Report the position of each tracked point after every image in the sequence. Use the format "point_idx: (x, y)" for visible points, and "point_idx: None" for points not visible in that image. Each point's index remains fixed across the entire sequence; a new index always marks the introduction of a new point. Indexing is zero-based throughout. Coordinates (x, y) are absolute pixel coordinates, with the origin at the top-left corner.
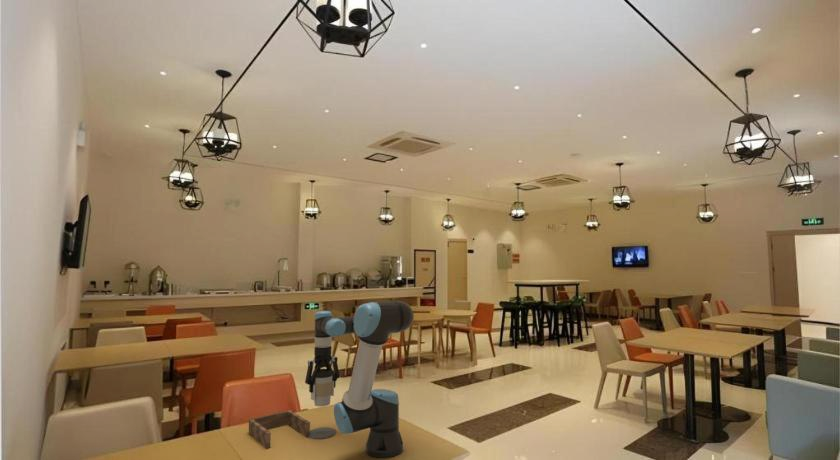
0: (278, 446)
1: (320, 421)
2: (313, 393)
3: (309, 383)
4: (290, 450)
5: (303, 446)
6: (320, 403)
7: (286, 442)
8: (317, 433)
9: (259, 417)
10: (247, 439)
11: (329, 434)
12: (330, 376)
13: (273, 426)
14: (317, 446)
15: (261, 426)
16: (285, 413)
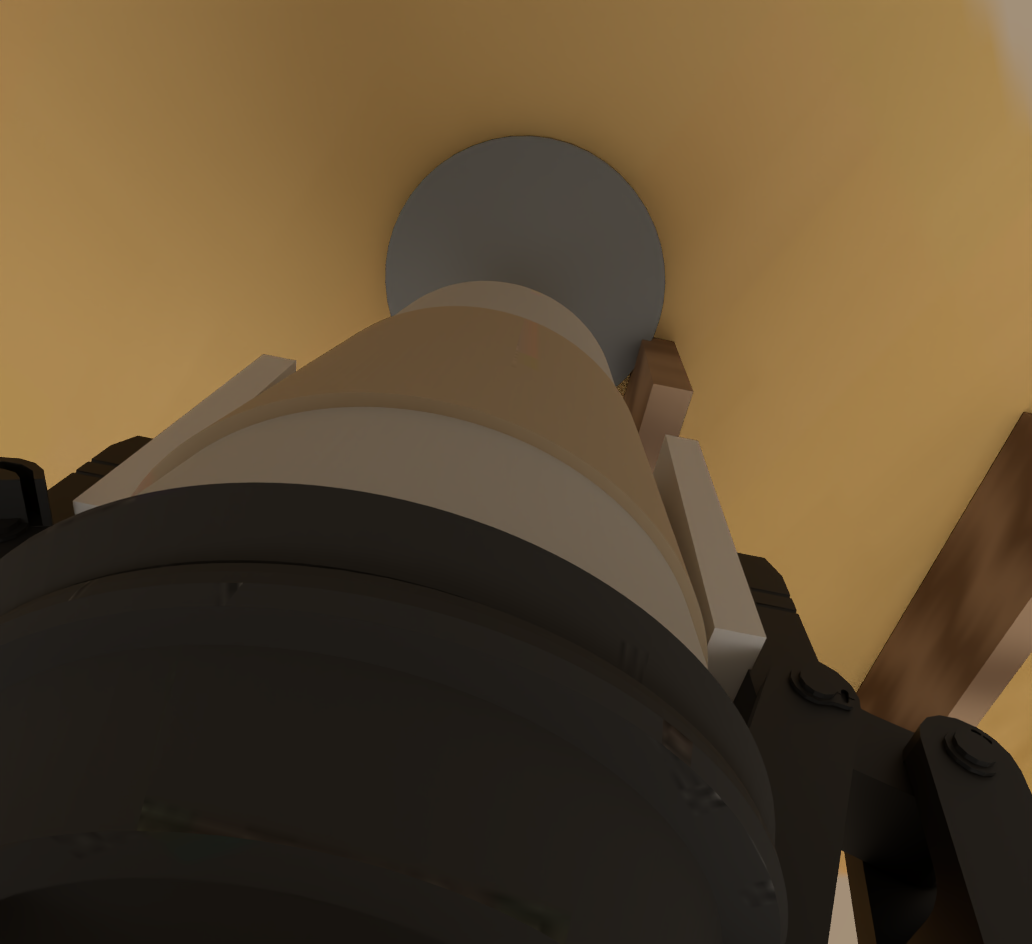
0: (967, 378)
1: None
2: (717, 517)
3: (936, 734)
4: (1004, 201)
5: (861, 174)
6: (592, 345)
7: (860, 393)
8: (571, 307)
9: None
10: None
11: (513, 177)
12: (178, 489)
13: None
14: (789, 35)
15: (995, 660)
16: None
